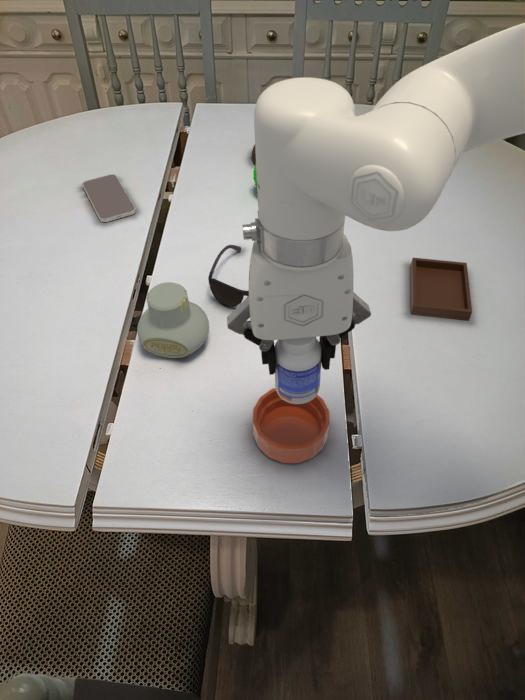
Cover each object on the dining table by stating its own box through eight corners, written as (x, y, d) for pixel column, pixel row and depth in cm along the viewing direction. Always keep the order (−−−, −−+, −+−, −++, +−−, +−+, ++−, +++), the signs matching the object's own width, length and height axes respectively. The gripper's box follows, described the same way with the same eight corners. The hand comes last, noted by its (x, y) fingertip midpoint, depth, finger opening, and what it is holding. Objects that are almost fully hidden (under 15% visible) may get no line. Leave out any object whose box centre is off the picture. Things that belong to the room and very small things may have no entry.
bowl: (337, 417, 74) (340, 400, 71) (310, 476, 68) (312, 461, 65) (272, 393, 77) (272, 376, 74) (241, 448, 71) (239, 432, 68)
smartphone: (100, 220, 104) (80, 182, 112) (101, 224, 104) (82, 186, 113) (136, 209, 106) (114, 173, 114) (137, 213, 106) (115, 177, 115)
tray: (468, 320, 86) (472, 311, 84) (410, 314, 87) (413, 305, 86) (463, 271, 94) (466, 262, 92) (410, 266, 95) (412, 257, 93)
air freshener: (134, 356, 82) (120, 310, 74) (151, 318, 87) (139, 271, 80) (203, 365, 81) (195, 319, 73) (215, 326, 86) (210, 279, 78)
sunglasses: (206, 307, 89) (203, 285, 85) (224, 248, 99) (222, 226, 95) (287, 315, 87) (288, 292, 84) (296, 254, 97) (297, 231, 94)
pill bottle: (327, 397, 63) (332, 342, 56) (285, 411, 62) (285, 357, 55) (307, 364, 67) (310, 309, 60) (268, 378, 66) (265, 323, 58)
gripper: (205, 267, 45) (224, 395, 58) (407, 250, 45) (378, 381, 59) (204, 215, 50) (221, 344, 63) (385, 201, 50) (364, 332, 64)
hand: (297, 361), depth 61 cm, fingers closed on pill bottle, 5 cm apart
